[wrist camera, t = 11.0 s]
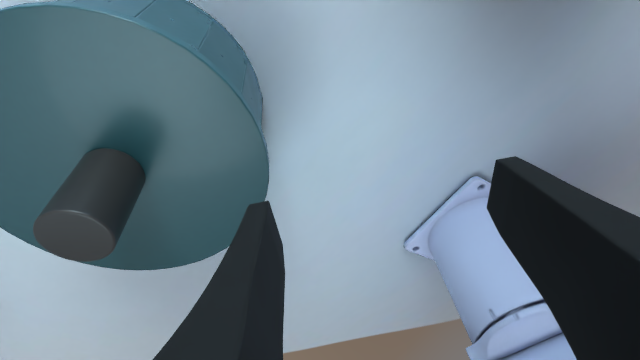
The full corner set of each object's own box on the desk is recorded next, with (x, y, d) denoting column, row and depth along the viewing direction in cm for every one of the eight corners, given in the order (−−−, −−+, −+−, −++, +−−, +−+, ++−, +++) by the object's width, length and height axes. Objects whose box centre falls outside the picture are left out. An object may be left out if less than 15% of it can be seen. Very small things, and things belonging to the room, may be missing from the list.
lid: (321, 104, 15) (337, 171, 11) (209, 277, 21) (195, 359, 17) (-59, -95, 10) (-258, -93, 6) (-62, 206, 16) (-163, 298, 12)
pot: (298, 63, 19) (306, 115, 14) (216, 207, 24) (203, 278, 20) (53, -75, 14) (-51, -64, 10) (20, 139, 20) (-57, 211, 15)
